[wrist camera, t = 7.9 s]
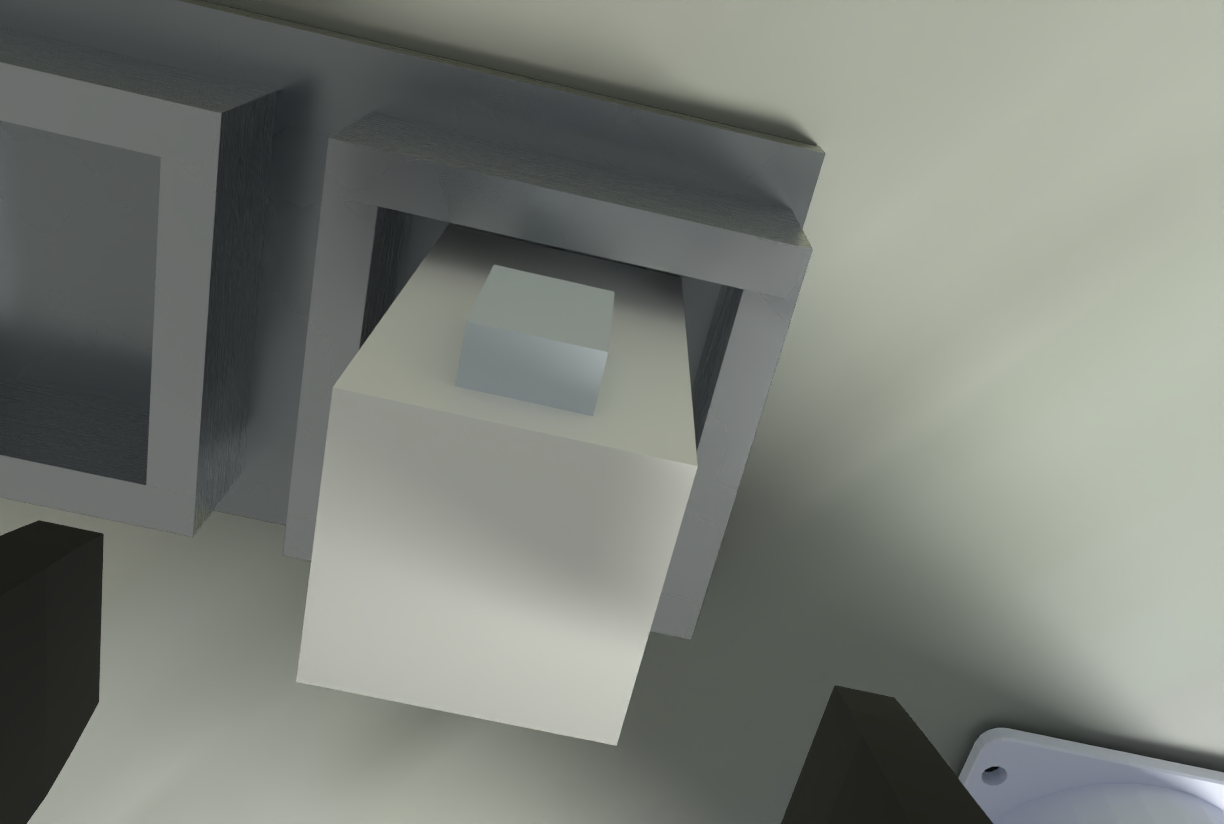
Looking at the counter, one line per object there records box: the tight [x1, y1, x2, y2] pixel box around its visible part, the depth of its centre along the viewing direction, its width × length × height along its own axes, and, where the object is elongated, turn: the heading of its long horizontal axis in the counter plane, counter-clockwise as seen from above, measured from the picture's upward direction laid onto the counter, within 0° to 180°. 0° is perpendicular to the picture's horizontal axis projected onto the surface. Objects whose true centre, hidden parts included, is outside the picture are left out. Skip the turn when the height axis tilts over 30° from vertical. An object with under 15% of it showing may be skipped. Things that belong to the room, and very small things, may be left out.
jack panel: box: [0, 0, 825, 640], centre depth 17 cm, size 9×16×3 cm, turn 78°
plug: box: [296, 225, 698, 746], centre depth 15 cm, size 5×4×7 cm
